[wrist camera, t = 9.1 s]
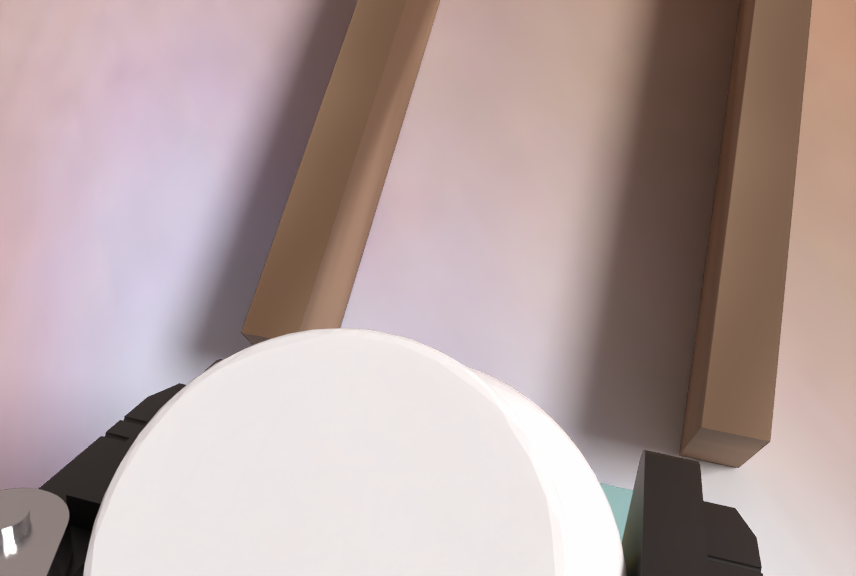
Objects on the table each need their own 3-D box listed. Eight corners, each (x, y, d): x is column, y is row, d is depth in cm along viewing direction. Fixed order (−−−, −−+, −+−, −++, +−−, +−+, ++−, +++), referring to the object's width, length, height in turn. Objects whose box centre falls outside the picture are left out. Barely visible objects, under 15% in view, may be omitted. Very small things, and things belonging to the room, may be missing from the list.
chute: (276, 369, 19) (240, 332, 17) (438, -124, 25) (428, -202, 22) (739, 467, 17) (770, 441, 15) (799, -97, 23) (828, -180, 20)
